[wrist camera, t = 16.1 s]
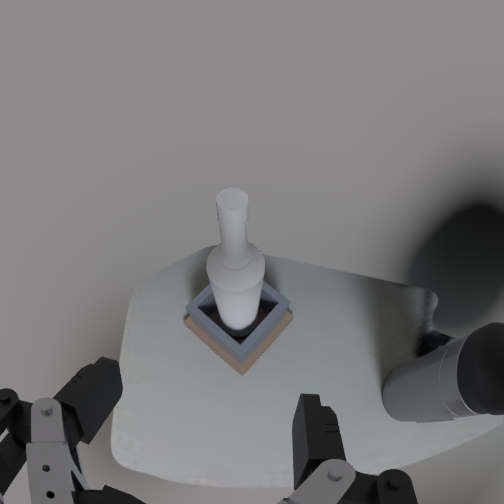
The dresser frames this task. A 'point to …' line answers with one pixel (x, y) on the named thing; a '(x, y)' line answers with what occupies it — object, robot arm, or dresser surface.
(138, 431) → the dresser surface
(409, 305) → the dresser surface
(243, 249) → the bottle
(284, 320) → the sleeve
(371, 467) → the dresser surface
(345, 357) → the dresser surface
